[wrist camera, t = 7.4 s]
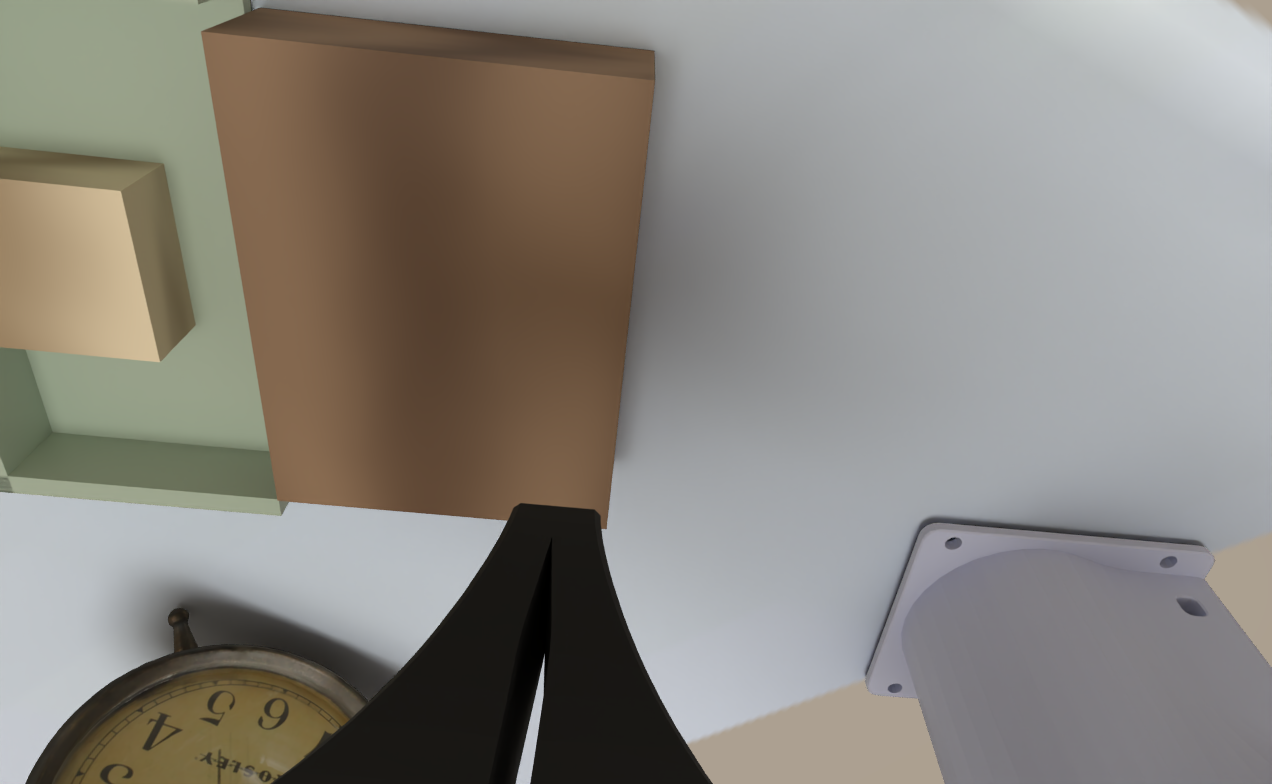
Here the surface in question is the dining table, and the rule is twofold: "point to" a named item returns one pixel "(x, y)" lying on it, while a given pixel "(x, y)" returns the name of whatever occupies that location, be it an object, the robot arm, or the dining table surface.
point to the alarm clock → (201, 718)
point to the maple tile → (89, 257)
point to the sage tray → (220, 341)
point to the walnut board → (433, 255)
